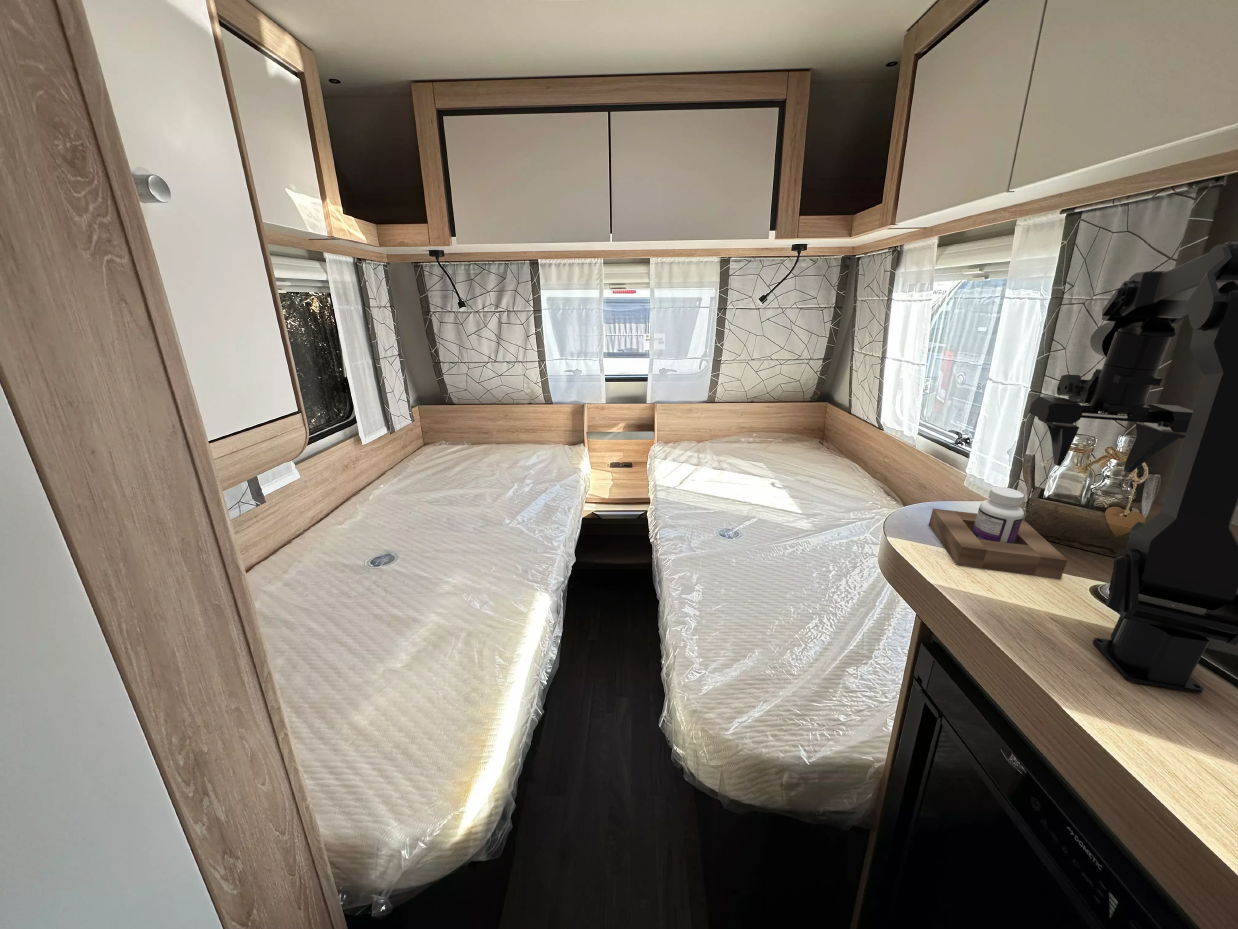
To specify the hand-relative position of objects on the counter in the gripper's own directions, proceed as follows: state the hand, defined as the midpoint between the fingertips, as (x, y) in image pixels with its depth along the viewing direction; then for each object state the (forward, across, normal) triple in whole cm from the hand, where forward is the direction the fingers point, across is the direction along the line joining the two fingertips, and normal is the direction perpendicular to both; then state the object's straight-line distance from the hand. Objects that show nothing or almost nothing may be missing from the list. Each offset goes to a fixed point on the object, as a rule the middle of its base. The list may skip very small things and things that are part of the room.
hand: (1091, 468), depth 78 cm
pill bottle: (+12, +14, +8) cm, 20 cm away
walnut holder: (+12, +14, +8) cm, 20 cm away
